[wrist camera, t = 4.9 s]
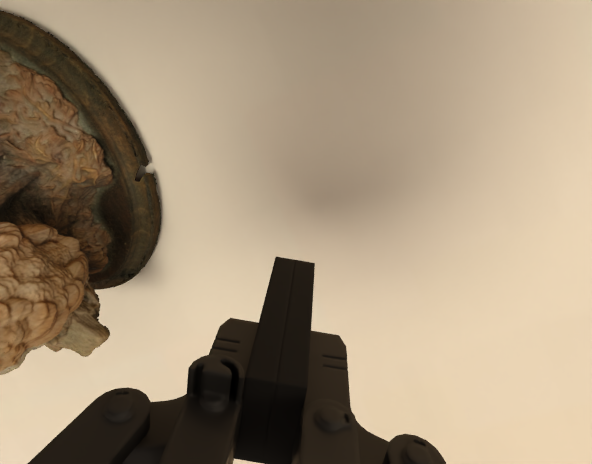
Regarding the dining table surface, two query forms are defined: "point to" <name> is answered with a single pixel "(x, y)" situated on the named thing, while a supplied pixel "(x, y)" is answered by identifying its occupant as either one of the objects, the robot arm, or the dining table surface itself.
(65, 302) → the beige stone figure
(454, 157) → the dining table surface
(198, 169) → the dining table surface
